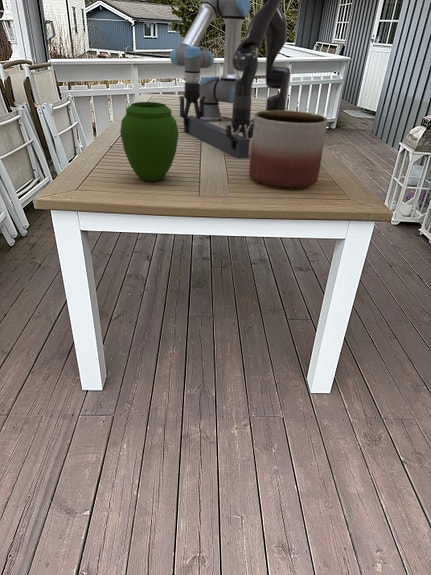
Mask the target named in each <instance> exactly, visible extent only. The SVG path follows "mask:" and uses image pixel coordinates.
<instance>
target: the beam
mask: <svg viewBox="0 0 431 575" xmlns="http://www.w3.org/2000/svg"><path fill="white" fill-rule="evenodd" d="M187 119H189V122H188V132H186V133H187V134H188V135H191V136H193V137H195V138H196V139H199V140H201V141H203V142H205V143H206V144H209V145H211V146H213V147H215V148H217V149H219V150H221V151H223V152H224V153H225V152H226V153H227V154H229V155H231V156H233V157H235V158H238V159H245V158H249V153H250V152H249V151H250V140H251V138H249V139H247V138H245V137H243V135H239V134H238V136H237V137H236V140H235V141H236V145H235V150H233V149H231V147H230V146H231V140H230V139H228V138H227V135H226V128H223V127H220V126H218V125H216V124H213V123H211V122H209V121H204V120H201V119H199V118H196V116H194V115H188V116H187ZM183 132H185V125H184V124H183ZM231 133H232V131H231Z"/></svg>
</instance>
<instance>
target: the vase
mask: <svg viewBox="0 0 431 575" xmlns="http://www.w3.org/2000/svg"><path fill="white" fill-rule="evenodd" d="M125 113H126V114H125V115H124V117H122V119H121V122H120V123H121V124H120V130H119V133H120V138H121V142H122V147H123V150H124V154H125V155H126V158H127V160H128V163H129V165H130V167H131V168H132V170H133V172H134V173H135V175H136V176H137V177H138V178H139V179H141V180H143V181H145V182H159V181H161V180H163V179H164V178H165V176H166V175H167V174H168V173H169V170H170V169H171V167H172V165H173V162H174V159H175V157H176V156H175V155H176V153H177V147H178V140H179V129H178V122H177V120H176V119H175V117H174V116H173V115H172V109H171V108H170V107H169V106H167V105H166V104H164V103H162V102H155V101H138V102H132V103H131V104H130V105H128V107H127V108H125Z"/></svg>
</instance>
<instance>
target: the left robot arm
mask: <svg viewBox="0 0 431 575" xmlns="http://www.w3.org/2000/svg"><path fill="white" fill-rule="evenodd" d="M250 11H251V0H202V2H201V3H200V5H199V7H198V13H197V14H196V16H195V18H194V20H193V22H192V23H191V26H190V27H189V29H188V31H187V32H186V34H185V35H184V37H183V40H182V41H181V43H180V45H179V46H178V48H173V49H172V50H171V51H170V54H169V59H170V62H171V64H172V65H174V66H176V67H177V66H178V67H184V93H183V95H179V96H178V99H179V117H180V118H182V119H183V120H182V122H183V126H184V125H185V131H184V132H185V133H187V132H188V122H189V119H187V116H189V113H190V112H189V111H190V107H191V104H193V107H194V111H195V112H194V113H195V117H196V118H199V119H201V120H204V121H206V122H218V121H221V120H222V119H225V120H228V121H232V120H233V119H232V118H229V117H225V116H222V114H221V110H220V107H219V105H220V103H225V104H226V103H227V104H233V99H234V90H235V81H236V80H237V79H239V78H241V77H242V76H241V75H240V74H239V72H240V71H237V70H235V69H234V67H233V63H232V61H233V56H234V53H235V51H236V50H237V48H238V46H239V45H240V43H241V42H242V27H243V26H242V25H243V23H244V22H245V21H246V17H247V16H248V15H249V14H250ZM219 16H223V17H222V20H223V21H224V22H225V34H224V53H223V73H222V74H221V76H206V77H201V69H208V68H210V67H212V66H213V65H214V63H215V56H214V53H213V52H211V51H210V50H201V47H200V46H198V45H199V44H200V42H201V40H202V38H203V36H204V35H205V33H206V31H207V30H208V28H209V26H210V24H211V23H212V22H213V21H214V20H215V19H216V17H219ZM219 102H220V103H219ZM249 122H250V123H253V119H252V120H251V119H249Z"/></svg>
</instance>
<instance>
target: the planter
mask: <svg viewBox="0 0 431 575" xmlns="http://www.w3.org/2000/svg"><path fill="white" fill-rule="evenodd" d="M253 119H254V127H253V136H252V138H251V147H250V148H251V149H250V157H249V165H248V166H249V167H248V174H249V177H251V179H252V180H254V181H255V182H257V183H259V184H261V185H264V186H268V187H271V188H276V189H289V190H291V189H292V190H293V189H302V188H306V187H310V186H312V185H314V184H316V183H317V182H318V180H319V175H320V169H321V163H322V157H323V156H322V155H323V150H324V145H325V139H326V132H327V127H328V122H329V119H328V118H327V117H325V116H323V115H321V114H317V113H312V112H306V111H297V110H286V109H285V110H268V111H266V110H260V111H257V112H255V113H254V118H253Z"/></svg>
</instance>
